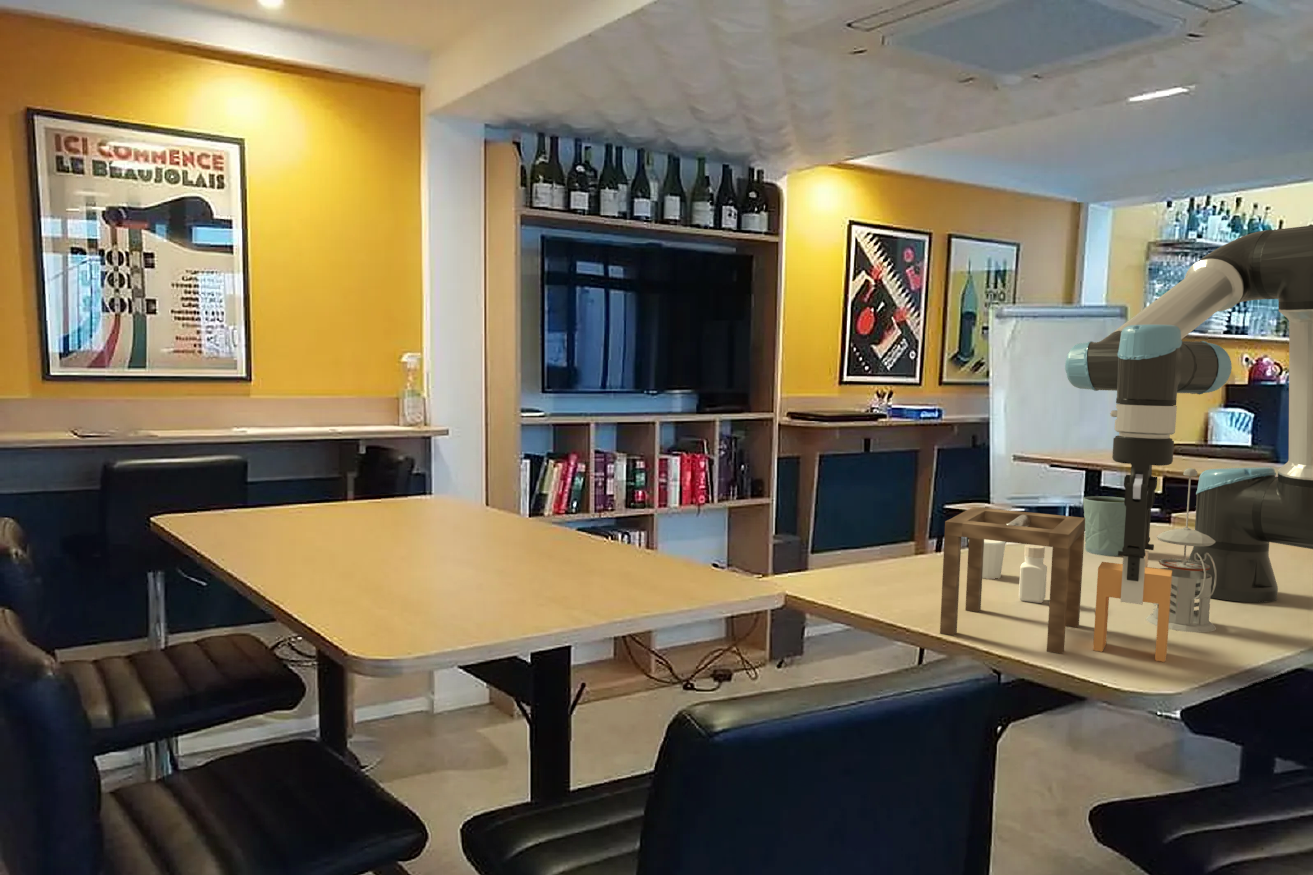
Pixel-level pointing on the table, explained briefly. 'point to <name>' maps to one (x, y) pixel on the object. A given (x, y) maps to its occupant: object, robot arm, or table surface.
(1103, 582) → the orange arch block
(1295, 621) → the table surface
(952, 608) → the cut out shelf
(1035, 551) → the white pill bottle
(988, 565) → the white cup
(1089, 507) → the green plant pot
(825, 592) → the table surface
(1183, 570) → the french press
